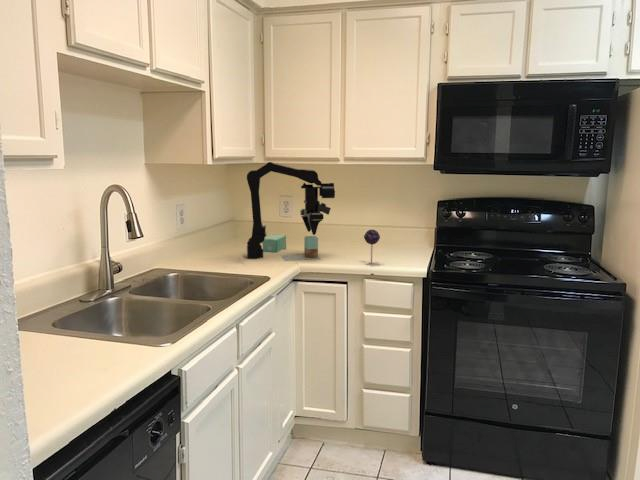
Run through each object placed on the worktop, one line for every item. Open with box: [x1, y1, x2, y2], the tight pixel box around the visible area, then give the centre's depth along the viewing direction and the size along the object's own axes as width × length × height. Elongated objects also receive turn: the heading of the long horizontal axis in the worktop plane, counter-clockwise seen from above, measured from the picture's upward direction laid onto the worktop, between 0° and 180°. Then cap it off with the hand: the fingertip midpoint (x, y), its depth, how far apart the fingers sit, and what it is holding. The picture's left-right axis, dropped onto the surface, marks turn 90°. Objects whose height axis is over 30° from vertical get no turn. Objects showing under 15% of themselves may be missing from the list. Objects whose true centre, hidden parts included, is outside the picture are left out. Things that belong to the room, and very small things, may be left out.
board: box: [280, 253, 321, 262], centre depth 240 cm, size 16×12×1 cm
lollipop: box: [363, 229, 381, 265], centre depth 231 cm, size 7×7×15 cm
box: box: [262, 234, 287, 253], centre depth 257 cm, size 7×14×8 cm, turn 164°
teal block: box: [303, 235, 319, 250], centre depth 240 cm, size 5×5×5 cm
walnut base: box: [304, 247, 319, 258], centre depth 241 cm, size 5×5×4 cm
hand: (311, 233), depth 239 cm, fingers open, 9 cm apart
